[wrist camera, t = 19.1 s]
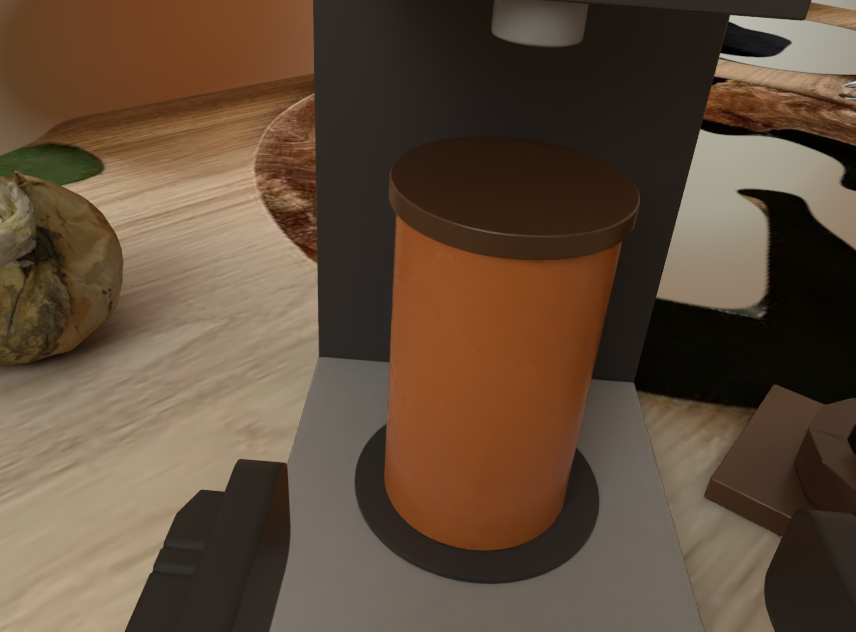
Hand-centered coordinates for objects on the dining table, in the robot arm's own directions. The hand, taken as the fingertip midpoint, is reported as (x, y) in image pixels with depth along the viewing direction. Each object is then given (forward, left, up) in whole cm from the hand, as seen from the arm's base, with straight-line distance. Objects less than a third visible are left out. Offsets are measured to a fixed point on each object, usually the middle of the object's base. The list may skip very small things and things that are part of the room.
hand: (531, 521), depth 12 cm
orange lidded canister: (+5, -7, -8) cm, 12 cm away
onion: (+24, -3, -10) cm, 26 cm away
